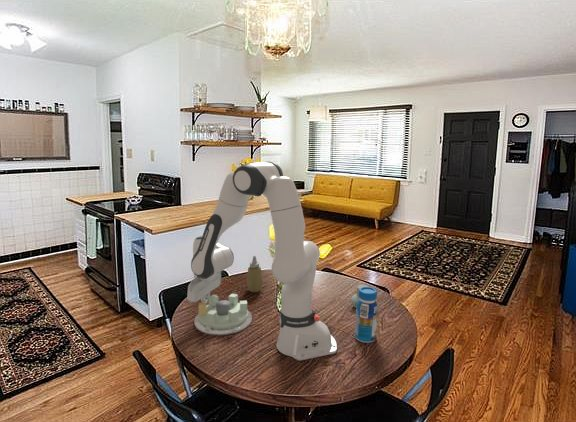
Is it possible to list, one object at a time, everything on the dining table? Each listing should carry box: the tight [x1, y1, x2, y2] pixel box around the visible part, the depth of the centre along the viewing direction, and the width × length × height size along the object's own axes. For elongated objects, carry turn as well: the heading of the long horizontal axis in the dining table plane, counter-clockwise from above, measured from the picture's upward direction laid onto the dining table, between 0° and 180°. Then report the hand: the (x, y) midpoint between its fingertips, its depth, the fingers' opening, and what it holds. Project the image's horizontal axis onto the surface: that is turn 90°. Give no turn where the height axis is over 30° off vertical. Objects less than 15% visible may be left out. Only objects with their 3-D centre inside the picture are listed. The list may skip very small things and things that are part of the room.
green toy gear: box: [197, 293, 249, 330], centre depth 155 cm, size 21×21×6 cm
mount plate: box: [193, 310, 253, 336], centre depth 155 cm, size 24×24×3 cm
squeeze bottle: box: [246, 255, 263, 293], centre depth 184 cm, size 8×8×18 cm
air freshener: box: [350, 284, 370, 309], centre depth 168 cm, size 11×8×10 cm
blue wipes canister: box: [354, 286, 379, 344], centre depth 142 cm, size 8×8×20 cm
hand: (205, 303), depth 158 cm, fingers closed
